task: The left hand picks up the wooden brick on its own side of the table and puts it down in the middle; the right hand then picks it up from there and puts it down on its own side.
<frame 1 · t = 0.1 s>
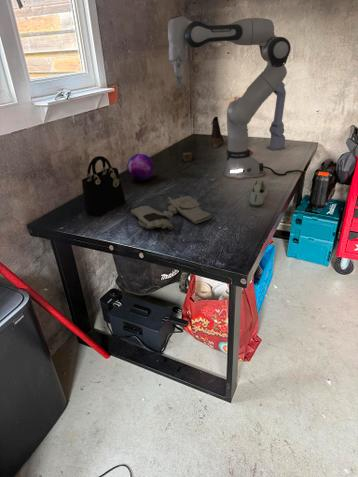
left hand: (179, 86, 168), 48 cm above the table, tool pointing down, fingers open, 8 cm apart
right hand: (240, 138, 222), 10 cm above the table, tool pointing down, fingers open, 7 cm apart
brick: (187, 160, 220), on the table
pair of gloves: (170, 217, 147), on the table
handbag: (106, 207, 159), on the table
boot: (217, 144, 251), on the table
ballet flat: (258, 197, 160), on the table
decorative orb: (142, 180, 190), on the table
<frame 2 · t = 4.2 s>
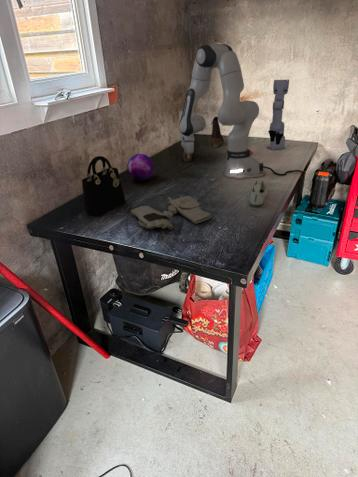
left hand: (187, 156, 218), 2 cm above the table, tool pointing down, fingers closed on brick, 4 cm apart
right hand: (274, 142, 213), 8 cm above the table, tool pointing down, fingers open, 7 cm apart
brick: (187, 160, 220), on the table, touching left hand
everything else where it was.
when the left hand's fingers open (3 cm above the table, at t = 11.4 s): brick stays where it is, on the table.
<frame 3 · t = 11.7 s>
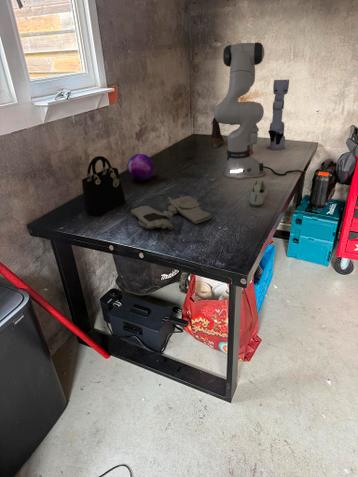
left hand: (248, 147, 227), 3 cm above the table, tool pointing down, fingers open, 7 cm apart
right hand: (274, 142, 213), 8 cm above the table, tool pointing down, fingers open, 7 cm apart
brick: (247, 152, 228), on the table
everything else where it was.
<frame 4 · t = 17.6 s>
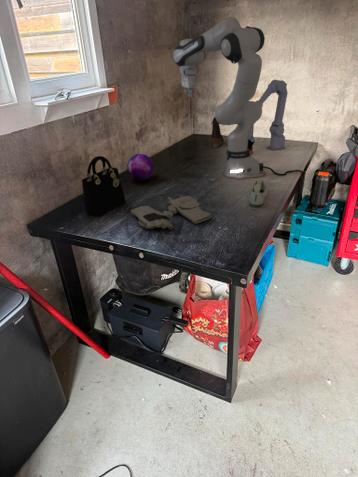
left hand: (188, 96, 201), 39 cm above the table, tool pointing down, fingers open, 8 cm apart
right hand: (248, 150, 228), 2 cm above the table, tool pointing down, fingers closed on brick, 4 cm apart
brick: (247, 152, 228), on the table, touching right hand
everything else where it was.
when the right hand's fingers open (2 cm above the table, at t = 23.1 s): brick stays where it is, on the table.
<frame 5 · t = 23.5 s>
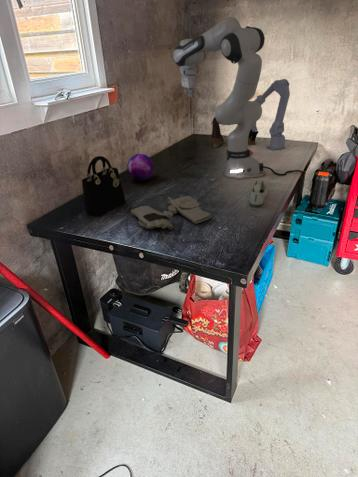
left hand: (188, 96, 201), 39 cm above the table, tool pointing down, fingers open, 8 cm apart
right hand: (251, 139, 245), 3 cm above the table, tool pointing down, fingers open, 7 cm apart
brick: (251, 144, 246), on the table
everything else where it was.
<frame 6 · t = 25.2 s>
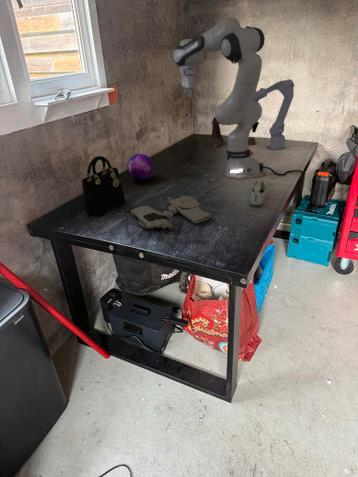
left hand: (188, 96, 201), 39 cm above the table, tool pointing down, fingers open, 8 cm apart
right hand: (251, 131, 242), 9 cm above the table, tool pointing down, fingers open, 7 cm apart
nothing on the table moved.
at the end: brick inside the target area (0.1 cm from its centre), on the table; brick tilted 0°; the two hands never held the brick at the same time; the left hand is holding nothing; the right hand is holding nothing; brick at rest at the end (0.0 cm/s) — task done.
